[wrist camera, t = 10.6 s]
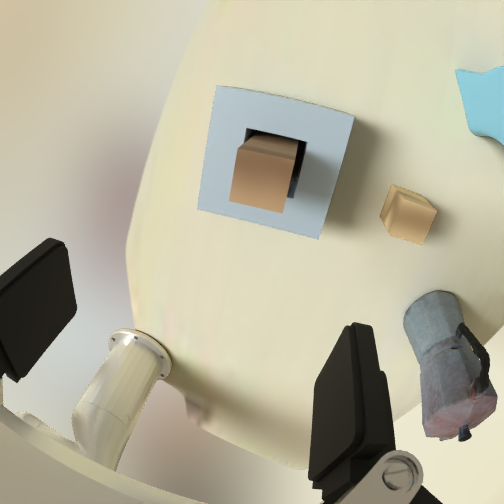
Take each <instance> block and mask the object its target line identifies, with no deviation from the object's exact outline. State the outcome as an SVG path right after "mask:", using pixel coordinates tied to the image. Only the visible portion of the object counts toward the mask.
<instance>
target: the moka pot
mask: <svg viewBox="0 0 504 504" xmlns="http://www.w3.org/2000/svg"><path fill="white" fill-rule="evenodd" d="M403 324H404V329H405V332H406V334H407V336H408V339H409V341H410V343H411V346H412V348H413V350H414V353H415V355H416V358H417V360H418V363H419V364H420V369H421V373H420V381H421V396H422V424H423V427H424V430H425V434H426V437H439V438H440V441H443V440H447V439H452V438H454V437H456V436H457V435H459V441H460V442H461V441H466V440H468V439H470V438H471V436H472V435H471V433H470V431H469V430H470V429H472V428H475V427H476V426H477V425H479V424H480V423H481V422H482V421H484V420H485V419H486V418H487V417H489V416H490V415H491V414H492V413H493V412H494V411H495V409H496V404H497V394H496V392H495V390H494V387H493V385H492V384H491V381H490V379H489V375H488V372H489V367H490V358H489V354H488V353H487V352H486V349H485V348H484V347H483V346H482V345H481V344H480V342H479V341H478V340H477V338H475V336H474V335H473V334H472V332H470V330H469V329H468V327H467V326H465V323H464V319H463V315H462V310H461V307H460V304H459V302H458V301H457V299H456V298H455V296H454V295H453V294H451V293H448V292H443V291H434V292H431V293H429V294H426V295H424V296H422V297H421V298H420V299H418V300H416V301H415V302H414V303H413V304H412V305H411V306H410V307H409V309H408V310H407V311H406V313H405V316H404V323H403ZM469 343H470V344H469ZM470 345H471V346H472V348H473V351H472V349H471V347H470ZM479 359H480V360H479Z"/></svg>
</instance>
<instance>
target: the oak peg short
mask: <svg viewBox="0 0 504 504" xmlns="http://www.w3.org/2000/svg"><path fill="white" fill-rule="evenodd" d="M436 213H437V211H436V209H435V208H434V207H433V206H432V205H431V204H430V203H429V202H428V201H427V200H426V199H425V198H424V197H423V196H422V195H420V194H417V193H414V192H412V191H409V190H406V189H404V188H401V187H398V186H395V185H391V187H390V190H389V193H388V196H387V198H386V201H385V204H384V207H383V209H382V212H381V215H380V218H381V219H382V221H383V223H384V225H385V227H386V229H387V231H388V233H389V235H391V236H394V237H397V238H400V239H404V240H407V241H410V242H413V243H416V244H419V245H423V243H424V240H425V238H426V236H427V234H428V231H429V229H430V227H431V225H432V222H433V220H434V217H435V215H436Z"/></svg>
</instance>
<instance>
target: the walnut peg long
mask: <svg viewBox="0 0 504 504" xmlns="http://www.w3.org/2000/svg"><path fill="white" fill-rule="evenodd" d="M298 142H299V140H298V139H294V138H290V137H286V136H282V135H278V134H273V133H269V132H264V131H259V132H258V133H257V134H255V135H254V136H253V137H251V138H250V139H249V140H248V141H246V142H245V143H244V144H242V145H241V146H240V147H239V148H238V149H237V154H236V160H235V166H234V172H233V179H232V185H231V191H230V197H229V201H230V202H234V203H239V204H243V205H248V206H252V207H257V208H261V209H265V210H270V211H274V212H278V213H282V214H283V210H284V206H285V202H286V197H287V193H288V189H289V184H290V180H291V176H292V171H293V167H294V163H295V158H296V152H297V147H298Z"/></svg>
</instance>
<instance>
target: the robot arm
mask: <svg viewBox="0 0 504 504" xmlns="http://www.w3.org/2000/svg"><path fill="white" fill-rule="evenodd" d="M76 311H77V304H76V299H75V294H74V288H73V282H72V276H71V270H70V264H69V256H68V250H67V248H66V247H65V244H64V243H63V242H62V241H59V240H56V239H53V238H48V239H46V240H45V241H43V242H42V243H41V244H40V245H38V246H37V247H36V248H34V249H33V250H32V251H30V252H29V253H28V254H27V255H25V256H24V257H23V258H21V259H20V260H19V261H18V262H16V263H15V264H14V265H13V266H11V267H10V268H9V269H8V270H7V271H6V272H4V273H3V274H2V275H1V276H0V504H207V503H203V502H199V501H196V500H192V499H189V498H185V497H182V496H179V495H175V494H173V493H170V492H167V491H164V490H161V489H158V488H155V487H152V486H149V485H147V484H144V483H142V482H139V481H137V480H134V479H132V478H129V477H127V476H124V475H122V474H120V473H117V472H116V469H117V466H118V463H119V460H120V458H121V455H122V453H123V450H124V448H125V446H126V443H127V441H128V439H129V437H130V434H131V433H132V430H133V428H134V426H135V424H136V422H137V420H138V418H139V416H140V413H141V411H142V409H143V407H144V405H145V403H146V401H147V399H148V397H149V395H150V393H151V390H152V388H153V386H154V384H155V382H156V380H161V379H164V378H166V377H167V376H168V375H169V373H170V371H171V368H172V362H171V359H170V357H169V355H168V353H167V352H166V351H165V349H164V348H163V347H162V346H161V345H160V344H159V343H158V342H156V341H155V340H154V339H152V338H151V337H149V336H148V335H146V334H144V333H141V332H139V331H136V330H132V329H119V330H116V331H115V332H113V333H112V335H111V336H110V338H109V343H108V344H109V349H110V353H109V355H108V356H107V358H106V359H105V361H104V363H103V364H102V366H101V367H100V369H99V370H98V372H97V373H96V375H95V376H94V378H93V380H92V381H91V383H90V384H89V386H88V388H87V389H86V391H85V392H84V394H83V396H82V397H81V399H80V400H79V402H78V404H77V405H76V407H75V409H74V411H73V414H72V426H73V431H74V435H75V439H76V443H75V442H72V441H70V440H69V439H66V438H65V437H63V436H62V435H60V434H59V433H57V432H56V431H55V430H53V429H52V428H50V427H49V426H48V425H46V424H45V423H44V422H42V421H41V420H39V419H38V418H37V417H35V416H34V415H32V414H30V413H28V412H18V413H16V414H13V413H12V412H11V411H9V410H8V409H6V408H5V407H4V406H3V389H2V388H3V387H2V376H3V374H4V373H6V375H7V377H9V378H10V379H12V380H13V381H15V382H16V383H18V381H19V380H20V379H21V378H23V377H25V376H26V375H27V374H28V372H29V371H30V370H31V368H32V367H33V366H34V365H35V363H36V362H37V361H38V359H39V358H40V357H41V356H42V354H43V353H44V352H45V351H46V349H47V348H48V347H49V346H50V344H51V343H52V342H53V341H54V340H55V338H56V337H57V336H58V334H59V333H60V332H61V331H62V330H63V329H64V327H65V326H66V325H67V324H68V323H69V322H70V320H71V319H72V318H73V317H74V316H75V314H76ZM308 479H309V480H311V481H313V487H312V488H313V489H322V499H323V501H322V502H321V503H320V504H443V503H441V502H440V501H439V500H438V499H437V498H435V496H433V495H432V494H431V493H430V492H429V491H428V490H427V489H426V488H425V487H423V486H422V485H421V484H422V482H423V470H422V466H421V464H420V462H419V461H418V460H417V458H416V457H415V456H414V455H412V454H410V453H408V452H406V451H401V450H396V446H395V437H394V427H393V419H392V411H391V404H390V397H389V390H388V384H387V378H386V375H385V373H384V372H383V371H380V368H379V361H378V355H377V350H376V344H375V338H374V333H373V328H372V326H370V325H365V324H361V323H356V322H353V323H352V324H351V326H345V328H344V329H343V331H342V333H341V335H340V337H339V339H338V341H337V343H336V345H335V347H334V348H333V350H332V352H331V354H330V356H329V358H328V360H327V361H326V363H325V365H324V367H323V369H322V370H321V372H320V374H319V376H318V377H317V379H316V382H315V386H314V401H313V418H312V434H311V447H310V459H309V471H308Z"/></svg>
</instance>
